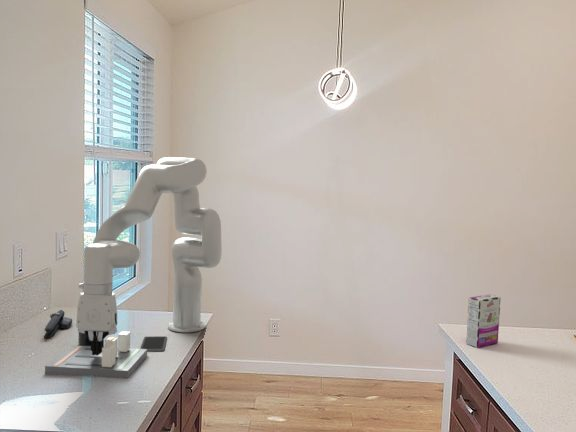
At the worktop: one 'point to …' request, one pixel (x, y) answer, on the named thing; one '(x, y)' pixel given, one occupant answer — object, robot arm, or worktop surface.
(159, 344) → the cell phone
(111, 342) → the handle
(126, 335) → the block
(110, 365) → the block
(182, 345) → the worktop surface
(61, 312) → the can opener
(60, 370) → the breaker board
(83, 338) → the supplement bottle
